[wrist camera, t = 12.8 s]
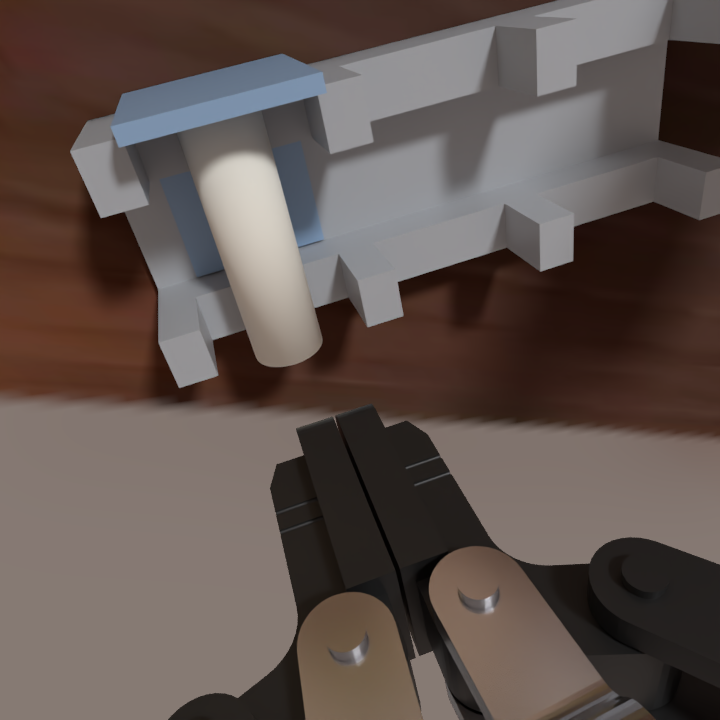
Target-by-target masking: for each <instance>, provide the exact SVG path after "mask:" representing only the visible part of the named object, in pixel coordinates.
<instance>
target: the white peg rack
mask: <svg viewBox="0 0 720 720" xmlns="http://www.w3.org/2000/svg"><path fill="white" fill-rule="evenodd" d="M668 40H678V41H690V42H702V43H714V44H720V0H558V1H554V2H550V3H546V4H542V5H538V6H534V7H530V8H527V9H523V10H519V11H515V12H511V13H507V14H503V15H499V16H495V17H491V18H487V19H484V20H480V21H476V22H472V23H468V24H464V25H460V26H456V27H452V28H448V29H444V30H441V31H437V32H433V33H429V34H425V35H421V36H417V37H413V38H409V39H405V40H401V41H398V42H394V43H390V44H386V45H382V46H378V47H374V48H370V49H366V50H362V51H358V52H355V53H351V54H347V55H343V56H339V57H335V58H331V59H327V60H323V61H319V62H315V63H312V64H308V65H306V64H304V63H302V62H300V61H297V60H295V59H293V58H291V57H288V56H286V55H284V54H279V55H275V56H271V57H267V58H263V59H259V60H255V61H251V62H247V63H243V64H239V65H235V66H231V67H227V68H223V69H219V70H215V71H211V72H207V73H204V74H200V75H196V76H192V77H188V78H184V79H180V80H176V81H172V82H168V83H164V84H160V85H156V86H152V87H148V88H144V89H140V90H136V91H132V92H128V93H124V94H122V96H121V99H120V101H119V104H118V107H117V110H116V112H115V114H112V115H108V116H104V117H100V118H97V119H93V120H89V121H87V122H86V124H85V126H84V128H83V129H82V131H81V133H80V135H79V136H78V138H77V140H76V142H75V143H74V145H73V147H72V149H71V151H70V152H71V154H72V157H73V159H74V161H75V163H76V165H77V167H78V170H79V172H80V174H81V176H82V178H83V180H84V183H85V185H86V187H87V189H88V191H89V193H90V196H91V198H92V200H93V202H94V204H95V206H96V209H97V211H98V213H99V215H100V217H101V218H104V217H107V216H111V215H114V214H118V213H122V212H125V214H126V216H127V219H128V221H129V223H130V225H131V228H132V230H133V232H134V235H135V237H136V239H137V242H138V244H139V246H140V249H141V251H142V253H143V255H144V258H145V260H146V262H147V265H148V267H149V269H150V272H151V274H152V276H153V278H154V281H155V283H156V285H157V288H158V343H159V345H160V347H161V350H162V352H163V354H164V356H165V358H166V360H167V363H168V365H169V367H170V369H171V371H172V374H173V376H174V378H175V380H176V382H177V384H178V387H179V388H181V387H184V386H188V385H191V384H194V383H197V382H200V381H203V380H206V379H209V378H212V377H215V376H218V371H217V364H216V358H215V352H214V346H213V340H215V339H218V338H221V337H224V336H227V335H231V334H234V333H237V332H240V331H243V330H246V328H245V325H244V322H243V319H242V317H241V314H240V311H239V308H238V305H237V303H236V300H235V297H234V294H233V291H232V288H231V286H230V283H229V280H228V277H227V274H226V271H225V269H224V266H223V263H222V260H221V257H220V254H219V252H218V249H217V246H216V243H215V240H214V237H213V235H212V232H211V229H210V226H209V223H208V220H207V218H206V215H205V212H204V209H203V206H202V203H201V201H200V198H199V195H198V192H197V189H196V186H195V184H194V181H193V178H192V175H191V172H190V169H189V167H188V164H187V161H186V158H185V155H184V152H183V150H182V147H181V144H180V141H179V138H178V135H177V132H181V131H184V130H188V129H192V128H196V127H200V126H203V125H207V124H211V123H215V122H219V121H222V120H226V119H230V118H234V117H238V116H241V115H245V114H249V113H253V112H256V111H260V110H261V112H262V115H263V119H264V123H265V126H266V130H267V134H268V138H269V141H270V145H271V149H272V153H273V156H274V160H275V164H276V167H277V171H278V175H279V179H280V182H281V186H282V190H283V193H284V197H285V201H286V205H287V208H288V212H289V216H290V219H291V223H292V227H293V231H294V234H295V238H296V242H297V246H298V249H299V253H300V257H301V260H302V264H303V268H304V272H305V275H306V279H307V283H308V286H309V290H310V294H311V298H312V301H313V305H314V308H316V307H320V306H323V305H326V304H329V303H332V302H336V301H339V300H342V299H345V298H348V297H349V299H350V301H351V302H352V304H353V305H354V307H355V308H356V310H357V311H358V313H359V315H360V316H361V318H362V319H363V321H364V322H365V324H366V326H367V327H370V326H373V325H376V324H380V323H383V322H386V321H389V320H392V319H395V318H398V317H401V316H403V311H402V305H401V299H400V293H399V287H398V282H399V281H402V280H406V279H409V278H412V277H415V276H418V275H421V274H425V273H428V272H431V271H434V270H437V269H441V268H444V267H447V266H450V265H453V264H456V263H460V262H463V261H466V260H469V259H472V258H476V257H479V256H482V255H485V254H488V253H491V252H495V251H498V250H501V249H504V248H508V249H509V250H511V251H512V252H514V253H515V254H516V255H518V256H519V257H521V258H522V259H523V260H525V261H526V262H528V263H529V264H530V265H532V266H533V267H535V268H536V269H537V270H539V271H540V272H541V271H544V270H547V269H550V268H553V267H556V266H559V265H562V264H565V263H569V262H572V261H573V243H574V226H577V225H581V224H584V223H587V222H590V221H593V220H597V219H600V218H603V217H606V216H609V215H612V214H616V213H619V212H622V211H625V210H628V209H632V208H635V207H638V206H641V205H644V204H647V203H651V202H656V203H658V204H661V205H663V206H666V207H668V208H671V209H673V210H675V211H678V212H680V213H683V214H685V215H688V216H690V217H692V218H695V219H697V220H702V219H705V218H708V217H711V216H714V215H717V214H720V157H716V156H713V155H709V154H706V153H702V152H699V151H695V150H692V149H688V148H685V147H681V146H678V145H674V144H670V143H667V142H663V141H660V140H658V135H659V125H660V115H661V104H662V94H663V83H664V73H665V62H666V52H667V41H668Z"/></svg>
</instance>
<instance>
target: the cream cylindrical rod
mask: <svg viewBox="0 0 720 720" xmlns="http://www.w3.org/2000/svg"><path fill="white" fill-rule="evenodd" d="M177 135H178V138H179V141H180V144H181V147H182V150H183V152H184V155H185V158H186V161H187V164H188V167H189V169H190V172H191V175H192V178H193V181H194V184H195V186H196V189H197V192H198V195H199V198H200V201H201V203H202V206H203V209H204V212H205V215H206V218H207V220H208V223H209V226H210V229H211V232H212V235H213V237H214V240H215V243H216V246H217V249H218V252H219V254H220V257H221V260H222V263H223V266H224V269H225V271H226V274H227V277H228V280H229V283H230V286H231V288H232V291H233V294H234V297H235V300H236V303H237V305H238V308H239V311H240V314H241V317H242V319H243V322H244V325H245V328H246V331H247V334H248V336H249V339H250V342H251V345H252V348H253V351H254V353H255V356H256V359H257V360H258V362H260V363H261V364H263V365H265V366H269V367H285V366H290V365H294V364H297V363H300V362H302V361H304V360H306V359H308V358H310V357H311V356H312V355H314V354H315V353H316V352H317V351H318V350H319V348H320V347H321V345H322V341H323V339H322V335H321V331H320V327H319V324H318V320H317V316H316V313H315V309H314V305H313V301H312V298H311V294H310V290H309V286H308V283H307V279H306V275H305V272H304V268H303V264H302V260H301V257H300V253H299V249H298V246H297V242H296V238H295V234H294V231H293V227H292V223H291V219H290V216H289V212H288V208H287V205H286V201H285V197H284V193H283V190H282V186H281V182H280V179H279V175H278V171H277V167H276V164H275V160H274V156H273V153H272V149H271V145H270V141H269V138H268V134H267V130H266V126H265V123H264V119H263V115H262V112H261V110H260V111H256V112H253V113H249V114H245V115H241V116H238V117H234V118H230V119H226V120H222V121H219V122H215V123H211V124H207V125H203V126H200V127H196V128H192V129H188V130H184V131H181V132H177Z"/></svg>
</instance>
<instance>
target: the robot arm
mask: <svg viewBox="0 0 720 720" xmlns="http://www.w3.org/2000/svg"><path fill="white" fill-rule="evenodd" d="M335 418H336V422H337V426H338V428H337V426H336V423H335V421H334V419H333V417H330V418H327V419H324V420H321V421H318V422H315V423H312V424H309V425H305V426H303V427H300V428H296V430H297V434H298V437H299V440H300V443H301V446H302V450H303V453H304V455H303V456H301V457H298V458H295V459H292V460H289V461H286V462H283V463H280V464H277V465H276V469H275V472H274V476H273V480H272V483H271V487H270V490H271V494H272V499H273V503H274V507H275V512H276V515H277V516H276V517H277V521H278V525H279V530H280V533H281V539H282V543H283V548H284V553H285V557H286V561H287V566H288V570H289V575H290V579H291V584H292V588H293V593H294V597H295V602H296V606H297V613H298V625H297V630H296V634H295V637H294V640H293V643H292V645H291V647H290V649H289V651H288V652H287V654H286V656H285V657H284V658H283V660H282V661H281V662H280V663H279V664H278V665H277V667H276V668H275V669H274V670H273V671H271V672H270V673H269V674H268V675H267V676H265V677H264V678H263V679H262V680H261V681H259V682H258V683H257V684H255V685H254V686H253V687H251V688H250V689H249V690H248V691H246V692H245V693H244V694H243V695H242V696H240V697H239V698H236V697H234V696H232V695H227V694H221V693H220V694H219V693H214V694H208V695H204V696H201V697H198V698H196V699H194V700H192V701H190V702H188V703H187V704H185V705H184V706H182V707H181V708H180V709H178V710H177V711H176V712H175V713H174V714H173V715H172V716H171V717H170V718H169V719H168V720H423V717H422V714H421V706H420V700H419V696H418V692H417V687H416V683H415V679H414V675H413V671H412V667H411V663H410V660H411V659H414V658H415V653H414V649H413V644H412V640H411V636H410V632H411V635H412V638H413V641H414V643H415V646H416V648H417V651H418V653H419V656H420V655H423V654H426V653H428V652H431V651H433V652H434V654H435V656H436V659H437V661H438V664H439V666H440V668H441V671H442V673H443V676H444V678H445V683H446V688H447V692H448V697H449V700H450V702H451V704H452V706H453V708H454V710H455V712H456V714H457V716H458V718H459V720H720V565H719V564H716V563H714V562H711V561H708V560H705V559H703V558H700V557H697V556H694V555H692V554H689V553H686V552H683V551H681V550H678V549H675V548H672V547H669V546H667V545H664V544H661V543H658V542H655V541H652V540H649V539H643V538H621V539H617V540H613V541H611V542H608V543H606V544H605V545H603V546H602V547H601V548H599V549H598V550H597V551H596V553H595V554H594V556H593V558H592V559H591V562H590V564H575V565H574V564H573V565H553V566H544V565H535V564H530V563H526V562H522V561H520V560H517V559H515V558H513V557H511V556H509V555H508V554H506V553H505V552H503V551H502V550H501V549H499V548H498V547H497V546H496V545H495V544H494V543H493V541H492V540H491V539H490V537H489V536H488V534H487V532H486V531H485V529H484V527H483V526H482V524H481V522H480V521H479V519H478V517H477V516H476V514H475V512H474V511H473V509H472V508H471V506H470V504H469V503H468V501H467V499H466V497H465V496H464V494H463V493H462V491H461V489H460V488H459V486H458V484H457V483H456V481H455V479H454V478H453V476H452V475H451V474H450V472H449V469H448V468H447V466H446V464H445V463H444V461H443V459H442V458H440V455H439V453H438V451H437V449H436V448H435V446H434V444H433V443H432V441H431V439H430V438H429V436H428V435H427V434H426V433H425V432H423V431H422V430H420V429H419V428H417V427H416V426H414V425H413V424H411V423H410V422H408V421H404V422H401V423H398V424H395V425H393V426H389V427H386V428H385V427H384V425H383V423H382V421H381V419H380V417H379V415H378V413H377V411H376V409H375V408H374V406H373V405H372V404H369V405H366V406H363V407H360V408H357V409H354V410H351V411H348V412H345V413H342V414H338V415H335ZM338 430H339V431H338Z"/></svg>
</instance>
